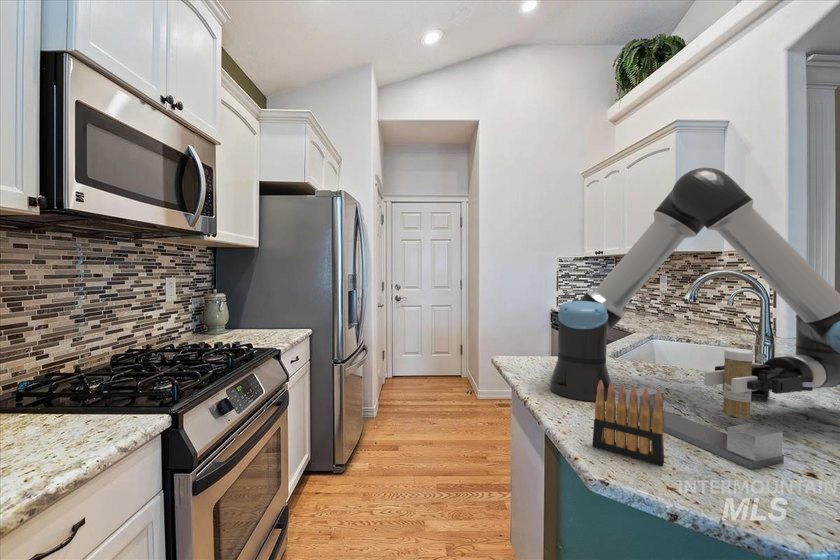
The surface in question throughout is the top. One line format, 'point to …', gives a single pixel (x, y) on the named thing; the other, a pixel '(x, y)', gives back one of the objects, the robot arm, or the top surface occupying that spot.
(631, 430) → the ammunition clip
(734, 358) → the sprinkles bottle
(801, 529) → the top surface
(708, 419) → the top surface
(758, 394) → the electrical switch
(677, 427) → the rail
